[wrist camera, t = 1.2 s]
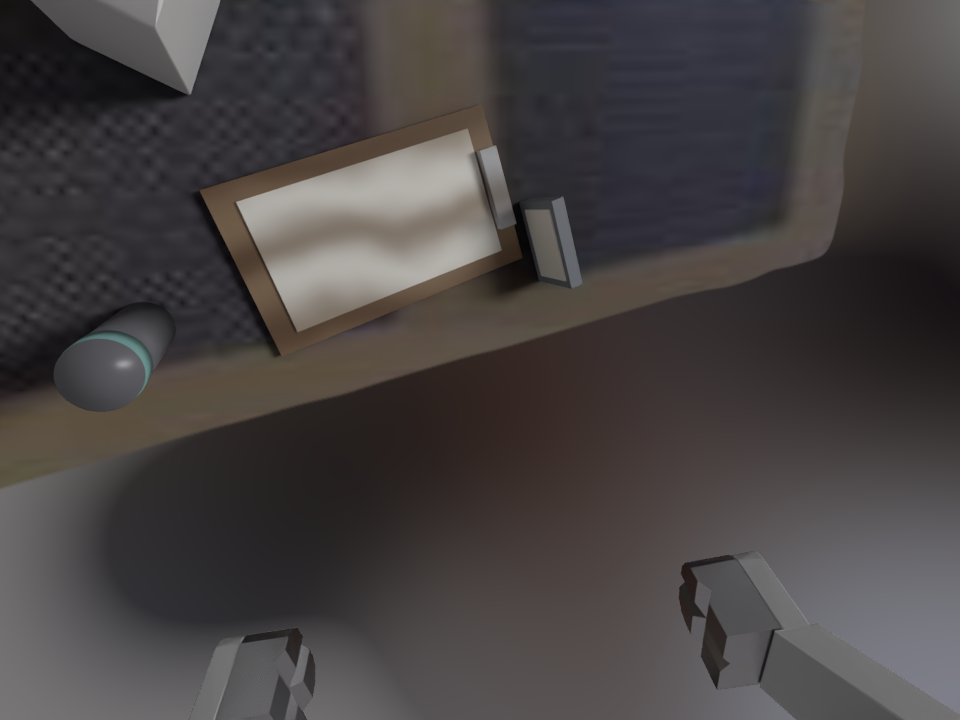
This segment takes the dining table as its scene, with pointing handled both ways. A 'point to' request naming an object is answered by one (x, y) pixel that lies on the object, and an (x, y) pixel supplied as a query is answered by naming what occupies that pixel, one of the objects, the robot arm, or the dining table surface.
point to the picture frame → (551, 241)
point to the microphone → (115, 358)
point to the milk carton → (141, 33)
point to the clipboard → (368, 226)
